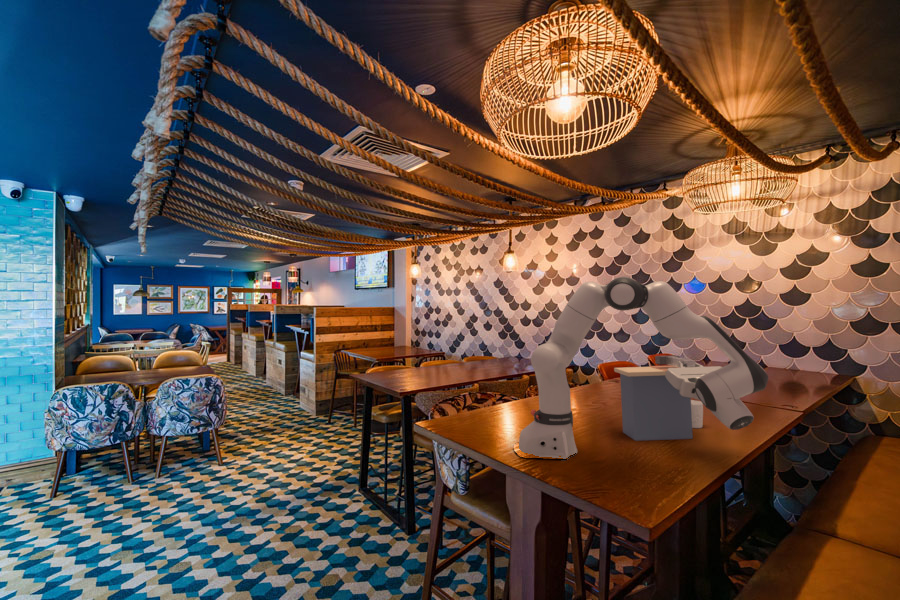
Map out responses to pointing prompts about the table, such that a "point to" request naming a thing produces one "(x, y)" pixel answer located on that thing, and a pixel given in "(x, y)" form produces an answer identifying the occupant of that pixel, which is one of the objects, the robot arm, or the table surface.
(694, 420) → the white cup
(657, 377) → the wood-topped grey cube
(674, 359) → the steel T-bar
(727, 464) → the table surface
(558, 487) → the table surface
